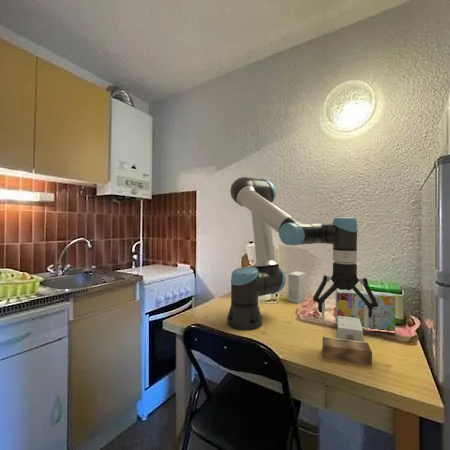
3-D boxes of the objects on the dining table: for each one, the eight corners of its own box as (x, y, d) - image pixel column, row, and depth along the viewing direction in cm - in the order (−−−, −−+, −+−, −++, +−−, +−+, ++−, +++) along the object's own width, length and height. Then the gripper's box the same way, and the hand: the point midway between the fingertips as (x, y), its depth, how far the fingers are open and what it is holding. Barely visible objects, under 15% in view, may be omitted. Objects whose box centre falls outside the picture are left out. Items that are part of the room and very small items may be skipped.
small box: (363, 349, 91) (359, 333, 103) (363, 330, 91) (359, 317, 103) (337, 344, 94) (337, 330, 106) (337, 327, 94) (337, 314, 106)
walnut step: (323, 357, 85) (323, 344, 85) (322, 348, 91) (322, 336, 91) (371, 364, 81) (372, 351, 81) (367, 355, 86) (367, 342, 86)
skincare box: (295, 298, 151) (295, 271, 151) (305, 300, 146) (306, 272, 146) (287, 301, 145) (287, 273, 144) (298, 303, 140) (298, 274, 140)
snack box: (390, 329, 108) (391, 292, 108) (395, 334, 103) (395, 296, 102) (335, 323, 114) (335, 288, 114) (336, 328, 109) (337, 291, 108)
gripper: (306, 262, 90) (305, 323, 91) (389, 266, 83) (388, 333, 83) (306, 259, 97) (306, 316, 98) (383, 262, 90) (382, 324, 90)
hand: (344, 324), depth 90 cm, fingers open, 13 cm apart
